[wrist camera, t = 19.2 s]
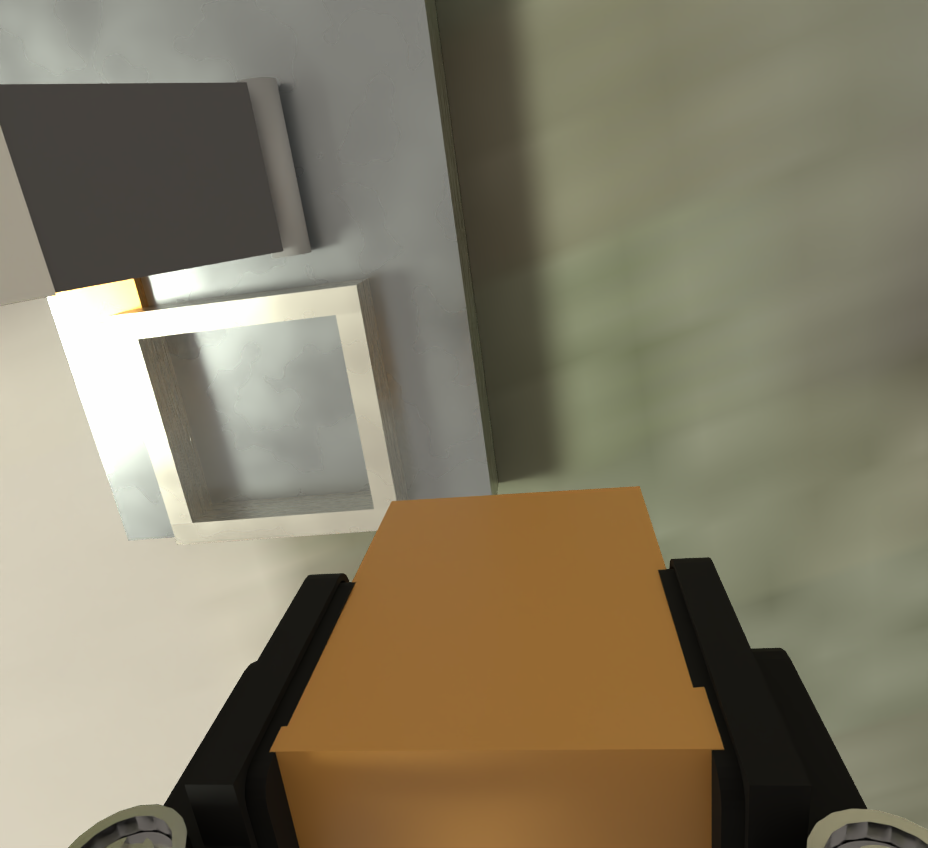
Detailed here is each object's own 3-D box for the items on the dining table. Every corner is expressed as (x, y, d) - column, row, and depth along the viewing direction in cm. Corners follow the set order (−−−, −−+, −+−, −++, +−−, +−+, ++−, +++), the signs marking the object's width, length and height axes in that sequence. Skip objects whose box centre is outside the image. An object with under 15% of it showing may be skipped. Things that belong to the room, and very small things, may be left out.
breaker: (292, 73, 19) (-138, 73, 13) (327, 250, 20) (-43, 321, 15) (256, 88, 20) (-144, 95, 14) (291, 252, 22) (-57, 317, 16)
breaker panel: (364, -532, 17) (315, -731, 13) (498, 483, 26) (491, 534, 22) (-116, -384, 19) (-276, -519, 15) (162, 510, 28) (104, 561, 24)
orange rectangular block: (639, 486, 12) (723, 749, 6) (647, 694, 13) (722, 1061, 8) (391, 501, 13) (269, 750, 7) (423, 699, 14) (343, 1040, 8)
